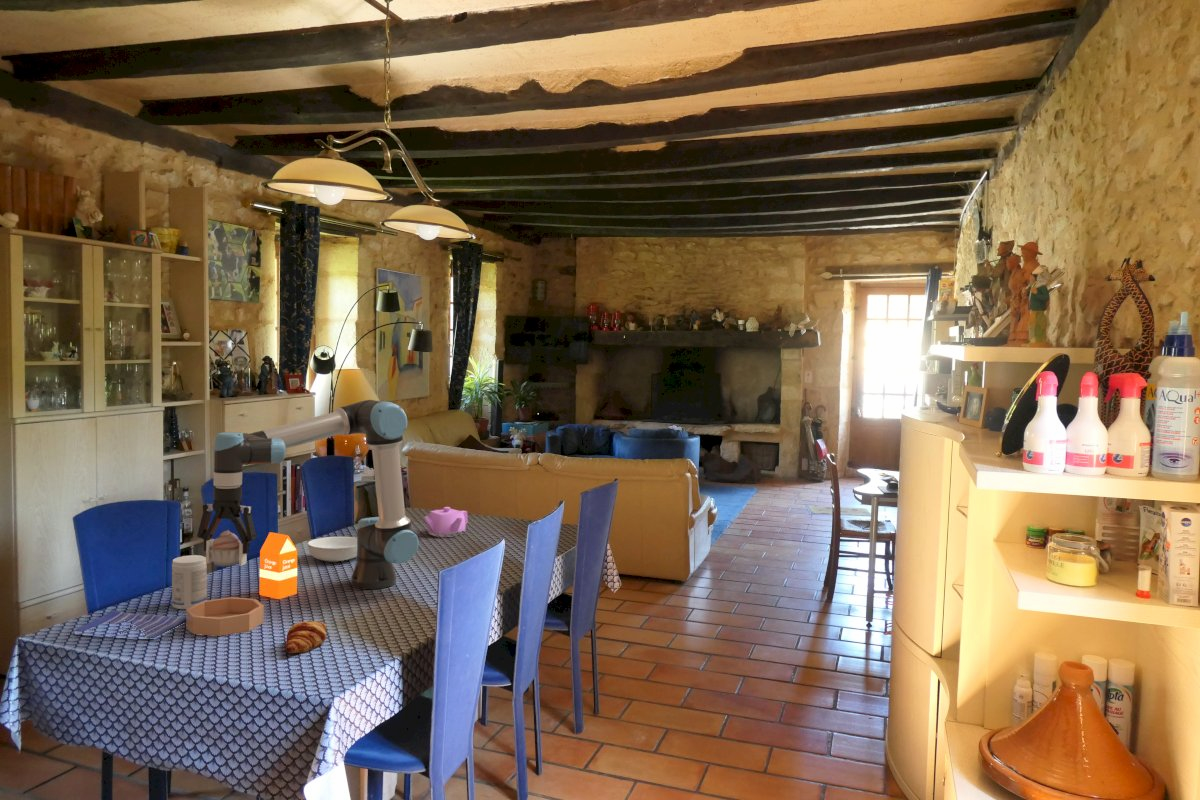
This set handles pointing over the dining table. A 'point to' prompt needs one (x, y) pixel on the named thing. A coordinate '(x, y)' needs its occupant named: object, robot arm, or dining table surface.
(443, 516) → the teakettle
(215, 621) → the bowl
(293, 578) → the orange juice
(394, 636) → the dining table surface
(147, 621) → the dish towel
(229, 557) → the cupcake
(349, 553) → the serving bowl
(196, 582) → the supplement tub
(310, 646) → the croissant
